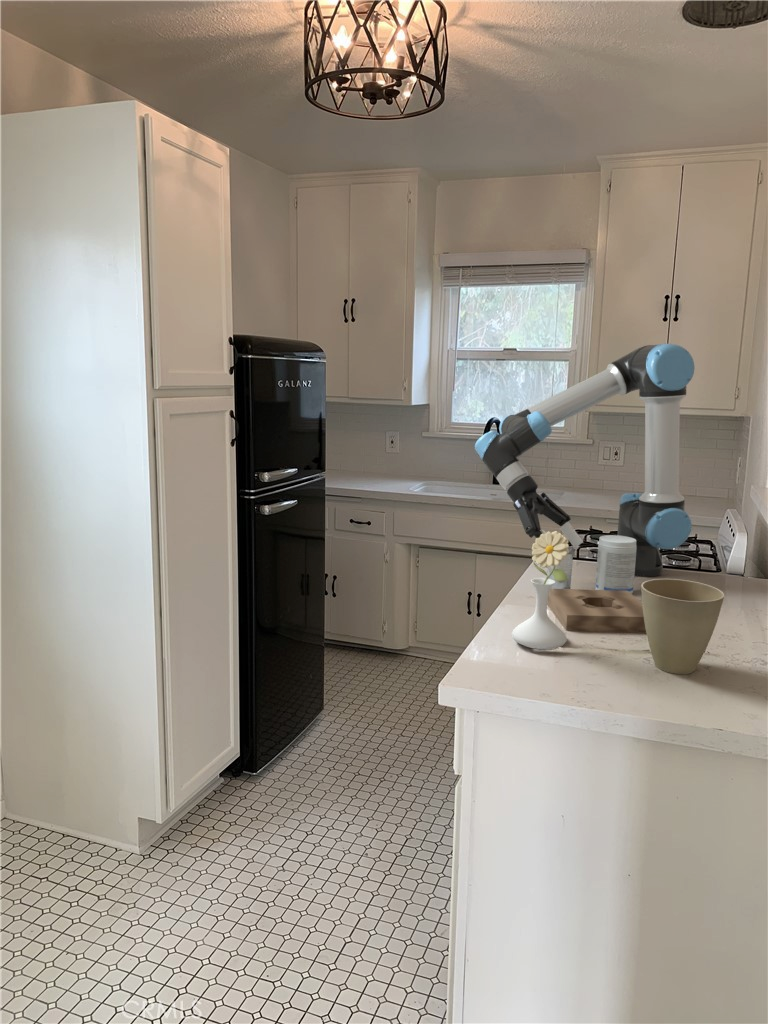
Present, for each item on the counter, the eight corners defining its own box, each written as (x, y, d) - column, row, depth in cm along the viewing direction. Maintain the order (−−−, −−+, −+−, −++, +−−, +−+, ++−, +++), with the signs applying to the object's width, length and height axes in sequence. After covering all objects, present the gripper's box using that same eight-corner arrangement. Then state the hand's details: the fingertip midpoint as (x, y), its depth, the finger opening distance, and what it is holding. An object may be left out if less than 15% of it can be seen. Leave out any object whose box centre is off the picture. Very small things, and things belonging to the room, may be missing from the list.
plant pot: (636, 648, 155) (643, 574, 152) (714, 660, 149) (723, 584, 146) (630, 674, 141) (638, 593, 138) (715, 688, 136) (725, 605, 133)
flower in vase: (500, 638, 158) (507, 524, 154) (545, 632, 163) (553, 521, 158) (536, 660, 147) (545, 537, 142) (582, 653, 151) (592, 534, 146)
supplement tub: (640, 595, 193) (645, 540, 190) (616, 600, 188) (621, 544, 185) (610, 586, 201) (615, 533, 198) (586, 590, 196) (591, 536, 193)
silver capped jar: (569, 594, 191) (572, 545, 189) (570, 601, 186) (573, 551, 183) (545, 592, 193) (548, 544, 190) (545, 599, 187) (549, 549, 184)
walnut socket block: (626, 608, 182) (627, 590, 181) (656, 636, 162) (658, 617, 161) (545, 606, 181) (546, 588, 180) (565, 634, 162) (567, 615, 161)
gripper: (531, 487, 203) (578, 549, 197) (482, 497, 184) (533, 566, 178) (549, 470, 199) (598, 533, 193) (502, 478, 180) (554, 549, 174)
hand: (567, 549), depth 185 cm, fingers open, 13 cm apart
